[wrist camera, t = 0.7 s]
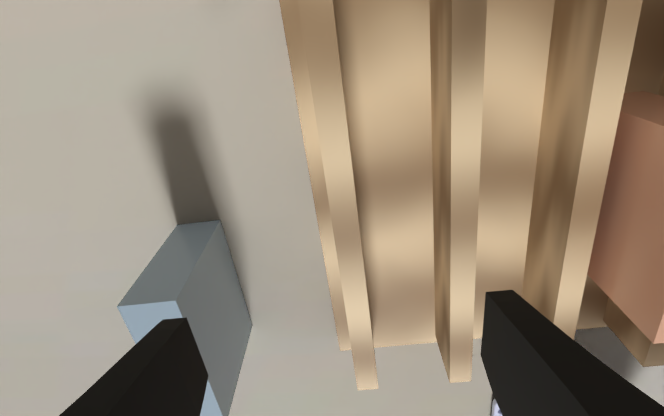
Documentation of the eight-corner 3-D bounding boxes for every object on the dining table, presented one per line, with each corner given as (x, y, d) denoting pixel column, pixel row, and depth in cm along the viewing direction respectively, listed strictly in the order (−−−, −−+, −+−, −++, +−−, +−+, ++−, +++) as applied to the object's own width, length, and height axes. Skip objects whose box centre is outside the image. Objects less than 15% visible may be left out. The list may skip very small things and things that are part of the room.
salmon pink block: (609, 242, 18) (722, 337, 13) (560, 247, 18) (653, 343, 13) (643, 91, 15) (811, 135, 10) (584, 98, 15) (719, 145, 10)
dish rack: (625, 310, 21) (683, 370, 18) (339, 337, 23) (340, 398, 19) (735, -88, 13) (880, -123, 10) (280, -16, 14) (261, -24, 11)
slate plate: (252, 324, 22) (226, 424, 17) (215, 328, 22) (177, 427, 17) (220, 219, 19) (175, 300, 14) (177, 224, 19) (116, 306, 14)
